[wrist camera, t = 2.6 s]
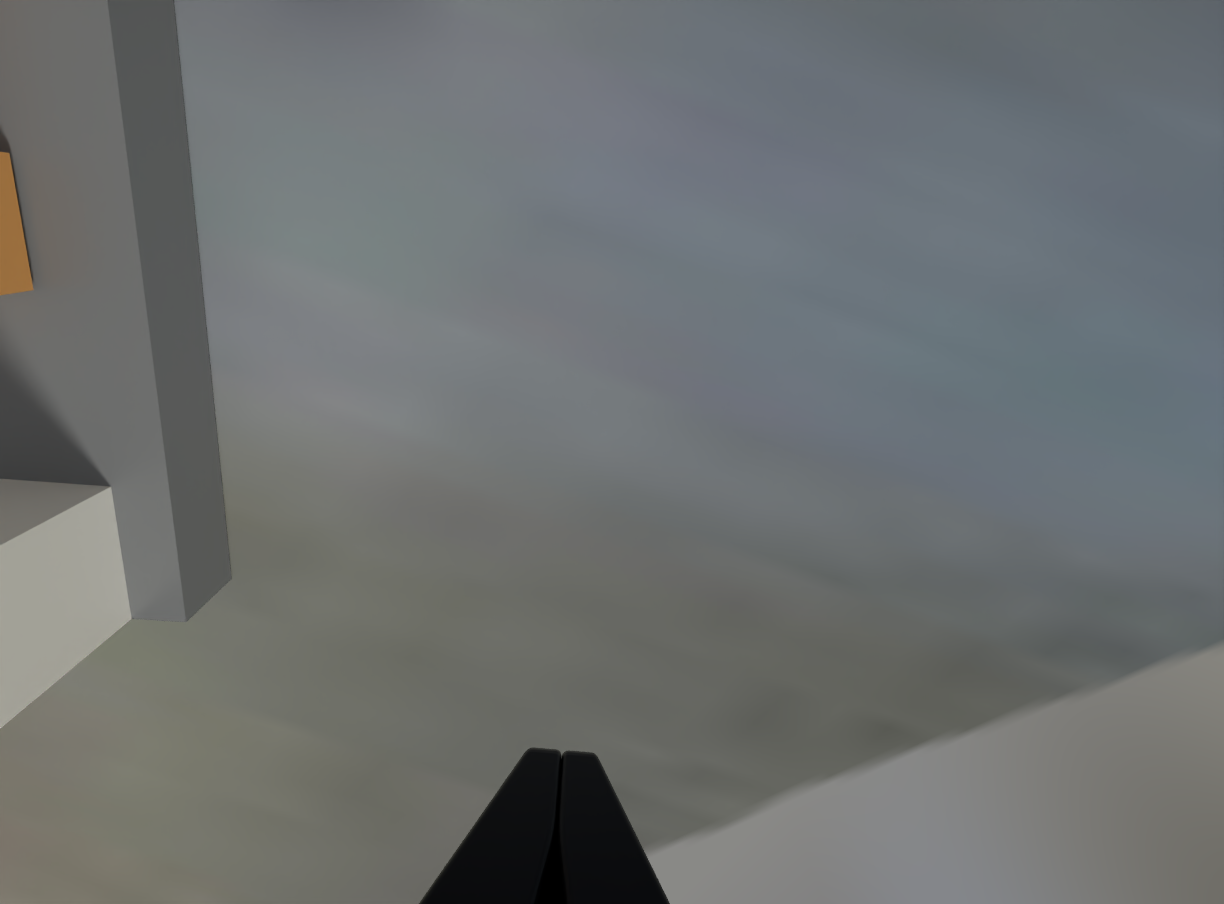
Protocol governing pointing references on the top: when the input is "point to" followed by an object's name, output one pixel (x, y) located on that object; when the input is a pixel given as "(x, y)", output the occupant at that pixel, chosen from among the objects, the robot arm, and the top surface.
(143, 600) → the grey board
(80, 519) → the plug
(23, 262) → the orange dumbbell
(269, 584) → the top surface
